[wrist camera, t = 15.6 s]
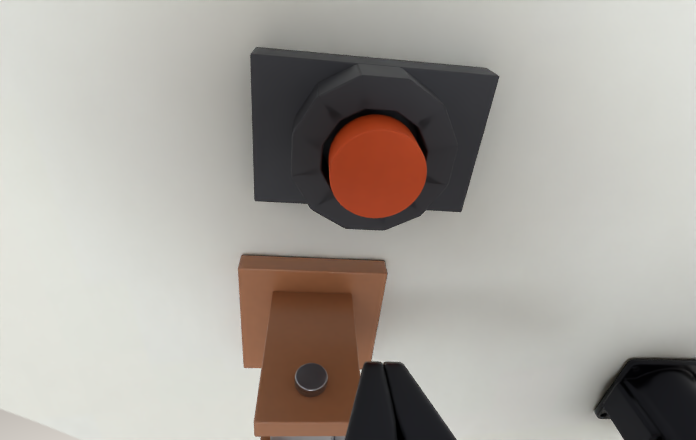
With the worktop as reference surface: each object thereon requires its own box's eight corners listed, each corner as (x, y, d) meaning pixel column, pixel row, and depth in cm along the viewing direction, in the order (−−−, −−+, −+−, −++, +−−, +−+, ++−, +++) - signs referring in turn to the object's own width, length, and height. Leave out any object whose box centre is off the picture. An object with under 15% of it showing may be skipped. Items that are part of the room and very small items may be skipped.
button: (425, 117, 16) (436, 133, 14) (409, 199, 18) (417, 221, 16) (332, 110, 15) (332, 125, 14) (325, 194, 17) (326, 216, 16)
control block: (487, 67, 18) (520, 88, 15) (453, 197, 21) (474, 235, 18) (255, 46, 17) (241, 64, 14) (258, 186, 20) (247, 224, 17)
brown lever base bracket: (384, 260, 23) (415, 399, 16) (367, 354, 27) (386, 500, 20) (241, 254, 22) (202, 398, 15) (246, 352, 27) (218, 503, 19)
